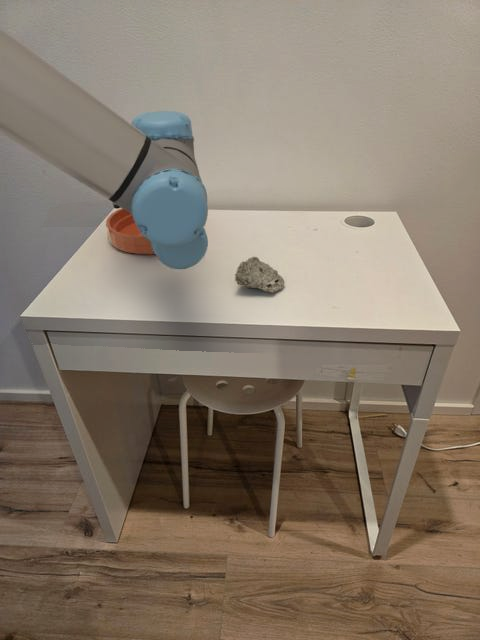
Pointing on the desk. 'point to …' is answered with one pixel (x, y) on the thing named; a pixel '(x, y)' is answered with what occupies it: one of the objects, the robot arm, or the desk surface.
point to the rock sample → (258, 276)
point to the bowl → (126, 233)
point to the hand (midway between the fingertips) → (136, 167)
